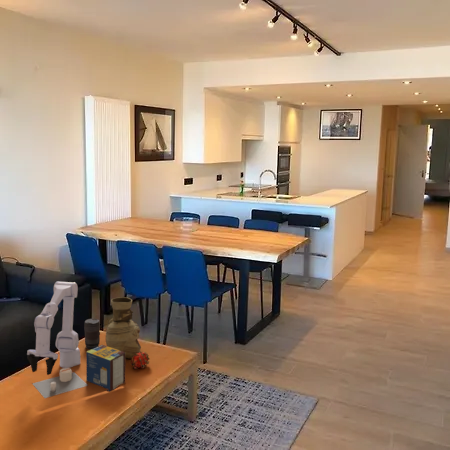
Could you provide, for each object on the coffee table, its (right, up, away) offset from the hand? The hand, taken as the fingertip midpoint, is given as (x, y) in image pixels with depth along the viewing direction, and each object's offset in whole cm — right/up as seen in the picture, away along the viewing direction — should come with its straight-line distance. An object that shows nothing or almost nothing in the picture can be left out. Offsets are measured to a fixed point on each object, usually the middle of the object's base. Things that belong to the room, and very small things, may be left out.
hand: (41, 372), depth 217 cm
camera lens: (+8, -2, +53) cm, 54 cm away
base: (+5, -9, +9) cm, 14 cm away
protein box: (+25, -9, +15) cm, 30 cm away
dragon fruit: (+38, -7, +32) cm, 50 cm away
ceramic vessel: (+26, -4, +47) cm, 54 cm away
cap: (+6, -7, +14) cm, 17 cm away
